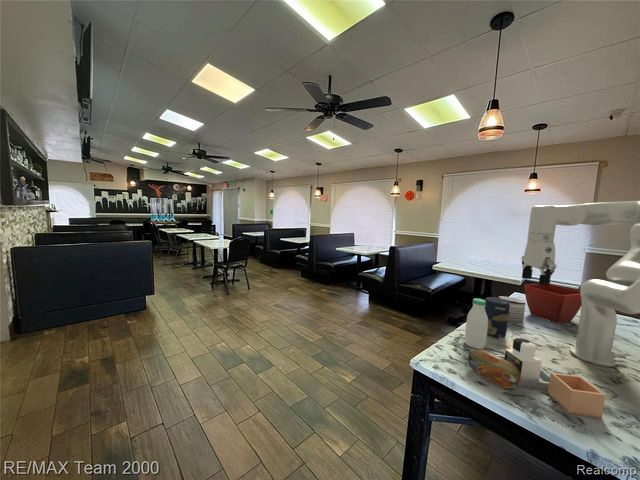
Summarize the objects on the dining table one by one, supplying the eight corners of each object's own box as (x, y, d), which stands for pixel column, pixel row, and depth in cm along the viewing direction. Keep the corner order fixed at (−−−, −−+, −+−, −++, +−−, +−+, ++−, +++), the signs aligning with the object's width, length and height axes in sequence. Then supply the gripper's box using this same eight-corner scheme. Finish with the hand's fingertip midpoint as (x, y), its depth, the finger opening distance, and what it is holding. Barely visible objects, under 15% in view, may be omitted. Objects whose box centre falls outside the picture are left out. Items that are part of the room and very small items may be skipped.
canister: (501, 332, 118) (506, 295, 116) (509, 341, 109) (514, 302, 107) (478, 328, 121) (482, 293, 119) (484, 337, 112) (488, 299, 110)
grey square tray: (529, 365, 92) (530, 358, 92) (559, 392, 78) (560, 384, 78) (487, 360, 94) (488, 354, 94) (509, 385, 80) (510, 378, 80)
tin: (466, 368, 89) (468, 346, 88) (470, 365, 90) (473, 344, 90) (516, 395, 76) (519, 369, 75) (520, 391, 78) (523, 366, 77)
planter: (577, 397, 76) (580, 376, 75) (601, 418, 68) (605, 395, 67) (547, 393, 77) (550, 372, 76) (568, 413, 69) (572, 390, 69)
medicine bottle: (502, 367, 89) (506, 335, 88) (521, 367, 90) (525, 335, 89) (519, 380, 82) (524, 346, 81) (539, 380, 83) (544, 346, 81)
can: (492, 317, 135) (494, 296, 134) (504, 314, 140) (506, 293, 139) (515, 326, 125) (518, 303, 124) (527, 322, 130) (530, 300, 128)
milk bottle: (488, 350, 101) (494, 304, 99) (468, 348, 102) (473, 302, 100) (480, 341, 108) (485, 297, 106) (461, 339, 110) (465, 295, 108)
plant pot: (519, 312, 143) (523, 284, 142) (541, 309, 149) (545, 282, 147) (559, 327, 125) (564, 295, 123) (583, 323, 131) (587, 292, 129)
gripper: (570, 241, 84) (563, 289, 86) (535, 236, 101) (530, 277, 103) (545, 240, 85) (539, 287, 87) (515, 235, 102) (510, 275, 104)
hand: (534, 281), depth 95 cm, fingers open, 9 cm apart
